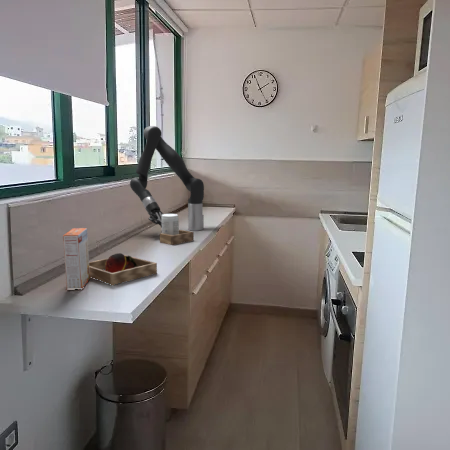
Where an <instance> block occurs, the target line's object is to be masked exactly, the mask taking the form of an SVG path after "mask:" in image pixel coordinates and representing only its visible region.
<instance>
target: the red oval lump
mask: <svg viewBox="0 0 450 450" xmlns="http://www.w3.org/2000/svg"><path fill="white" fill-rule="evenodd" d="M124 255H125V254H123V253H118V252H117V253H114V254H111V255H110V256H109V257H108V260H107V261H106V265H105V270H104V271H108V272H111V273H115V272H119V271H123V270H127V269H131V268H135V266H137V264H136V263H135V262H134V259H133V258H132V257H133V256H131V255H127V256H124Z"/></svg>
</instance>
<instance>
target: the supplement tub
mask: <svg viewBox="0 0 450 450" xmlns="http://www.w3.org/2000/svg"><path fill="white" fill-rule="evenodd" d="M179 222H180V221H179V215H178V214H177V213H163V215H162V228H161V233H163V234H168V235H177V234H179V230H180V229H179V228H180V227H179V225H180V224H179Z"/></svg>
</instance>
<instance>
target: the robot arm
mask: <svg viewBox="0 0 450 450" xmlns="http://www.w3.org/2000/svg"><path fill="white" fill-rule="evenodd" d="M143 136H144V138H145V140H146V143H145V146H144V149H143V151H142V153H141V155H140V157H139V160H138V163H137V166H136V168H135V169H136V170H135V173H136V174H137V175H138V178H137V177H133V178H131V180H130V182H129V186H130V188H131V190H132V191H133V192H134V194H135V195H136V196H137V197H138V198H139V200H140V201H141V203H142V205H143V207H144V208H145V211H146V212H147V214H148V215H149V217H148V220H149V221H150V222H152V223H154V224H155V225H159V226H160V228H161V229H162V215H163V214H164V213H163V211H161V208H160V206H159V204H158V202H157V201H156V199H155V197H154V196H153V194H152V193H151V192H150V190H149V189H147V187H148V179H149V178H148V177H149V176H148V175H149V171H150V167H151V164H152V160H153V157H154V154H155V151H157V152H158V154H159V155H160V156H161V158H162V159H163V160H164V162H165V163H166V164H167V165H168V167H169V168H170V170H172V172H174V173H175V175H176V176H177V177H178V178H179V179H180V181H181V182H182V183H183V185H184V186H185V188H186V190H188V192H190V196H189V198H188V200H187V218H188V222H187V223H188V225H187V226H188V230H189V231H191V232H194V231H203V230H204V228H205V227H204V226H205V225H204V223H205V221H204V220H205V218H204V217H205V216H204V214H203V201H204V198H205V197H204V195H205V185H204V182H203V180H202V179H200V178H196V177H194V176H193V175H192V174H191V173H190V171H189V170H188V168H187V165H186V163H185V161H184V159H183V158H182V157H181V155H180V154H179V153H178V152H177V150H175V149H174V148H173V147H172V146H170V145H169V144H168V143H167V142H166V141H165V140H164V138H163V137H162V130H161V129H160V127H159V126H155V125H149V126H146V127H145V128H144V130H143ZM188 230H187V231H188Z"/></svg>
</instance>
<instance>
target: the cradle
mask: <svg viewBox="0 0 450 450" xmlns="http://www.w3.org/2000/svg"><path fill="white" fill-rule="evenodd" d="M194 239H195V238H194V231H191V230H189V231H188V230H185V229H184V230H183V229H179V234H177V235H168V234H163V233H162V232H161V233H159V243H160V244H165V245H169V246H176V245H179V244H184V243H188V242H189V243H190V242H194Z"/></svg>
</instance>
